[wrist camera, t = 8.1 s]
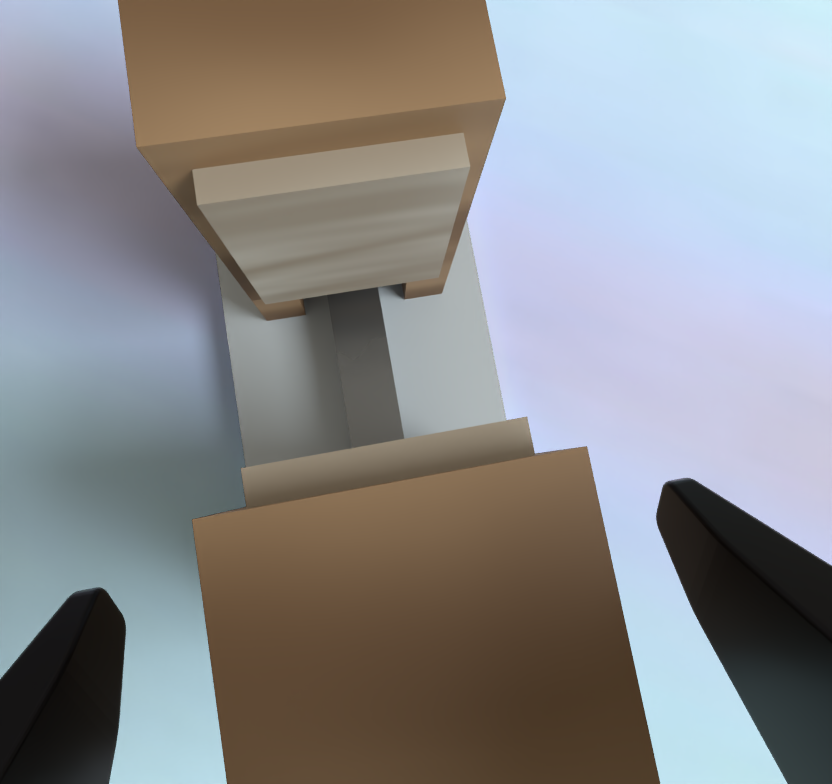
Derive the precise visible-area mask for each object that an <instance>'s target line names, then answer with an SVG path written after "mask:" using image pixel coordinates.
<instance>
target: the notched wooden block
mask: <svg viewBox="0 0 832 784" xmlns="http://www.w3.org/2000/svg"><path fill="white" fill-rule="evenodd" d="M241 474H242V481H243V488H244V495H245V502H246V507H243V508H239V509H235V510H230V511H226V512H222V513H217V514H213V515H209V516H205V517H200V518H196V519H192V524H193V532H194V539H195V547H196V554H197V562H198V569H199V577H200V584H201V592H202V599H203V607H204V614H205V622H206V629H207V637H208V644H209V652H210V659H211V667H212V674H213V682H214V689H215V697H216V704H217V712H218V719H219V727H220V734H221V742H222V749H223V757H224V764H225V772H226V779H227V784H660V781H659V776H658V771H657V767H656V762H655V758H654V753H653V748H652V744H651V739H650V734H649V730H648V725H647V721H646V716H645V711H644V707H643V702H642V698H641V693H640V688H639V684H638V679H637V675H636V670H635V665H634V661H633V656H632V652H631V647H630V642H629V638H628V633H627V629H626V624H625V619H624V615H623V610H622V606H621V601H620V596H619V592H618V587H617V583H616V578H615V573H614V569H613V564H612V560H611V555H610V550H609V546H608V541H607V537H606V532H605V527H604V523H603V518H602V514H601V509H600V504H599V500H598V495H597V491H596V486H595V481H594V477H593V472H592V468H591V463H590V458H589V454H588V449H587V446H586V447H579V448H571V449H564V450H557V451H550V452H543V453H536V454H535V453H534V448H533V443H532V438H531V434H530V429H529V424H528V419H527V417H523V418H517V419H512V420H506V421H501V422H495V423H489V424H484V425H478V426H473V427H467V428H462V429H456V430H450V431H445V432H439V433H434V434H428V435H423V436H417V437H411V438H406V439H400V440H395V441H389V442H384V443H378V444H373V445H367V446H361V447H356V448H350V449H345V450H339V451H334V452H328V453H322V454H317V455H311V456H306V457H300V458H295V459H289V460H283V461H278V462H272V463H267V464H261V465H256V466H250V467H245V468H241Z"/></svg>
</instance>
